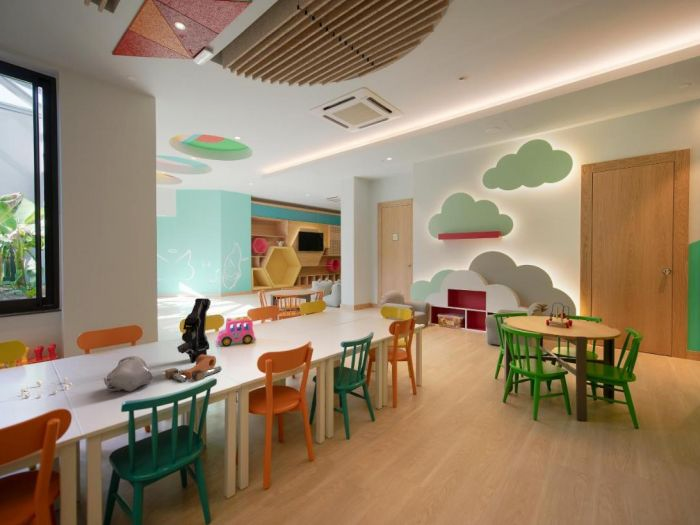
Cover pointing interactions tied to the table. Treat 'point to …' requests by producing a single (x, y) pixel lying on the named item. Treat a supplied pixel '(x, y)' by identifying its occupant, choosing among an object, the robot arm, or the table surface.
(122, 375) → the grey rock
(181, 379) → the hex bolt
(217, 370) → the shaft
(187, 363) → the table surface
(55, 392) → the game piece set
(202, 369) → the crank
